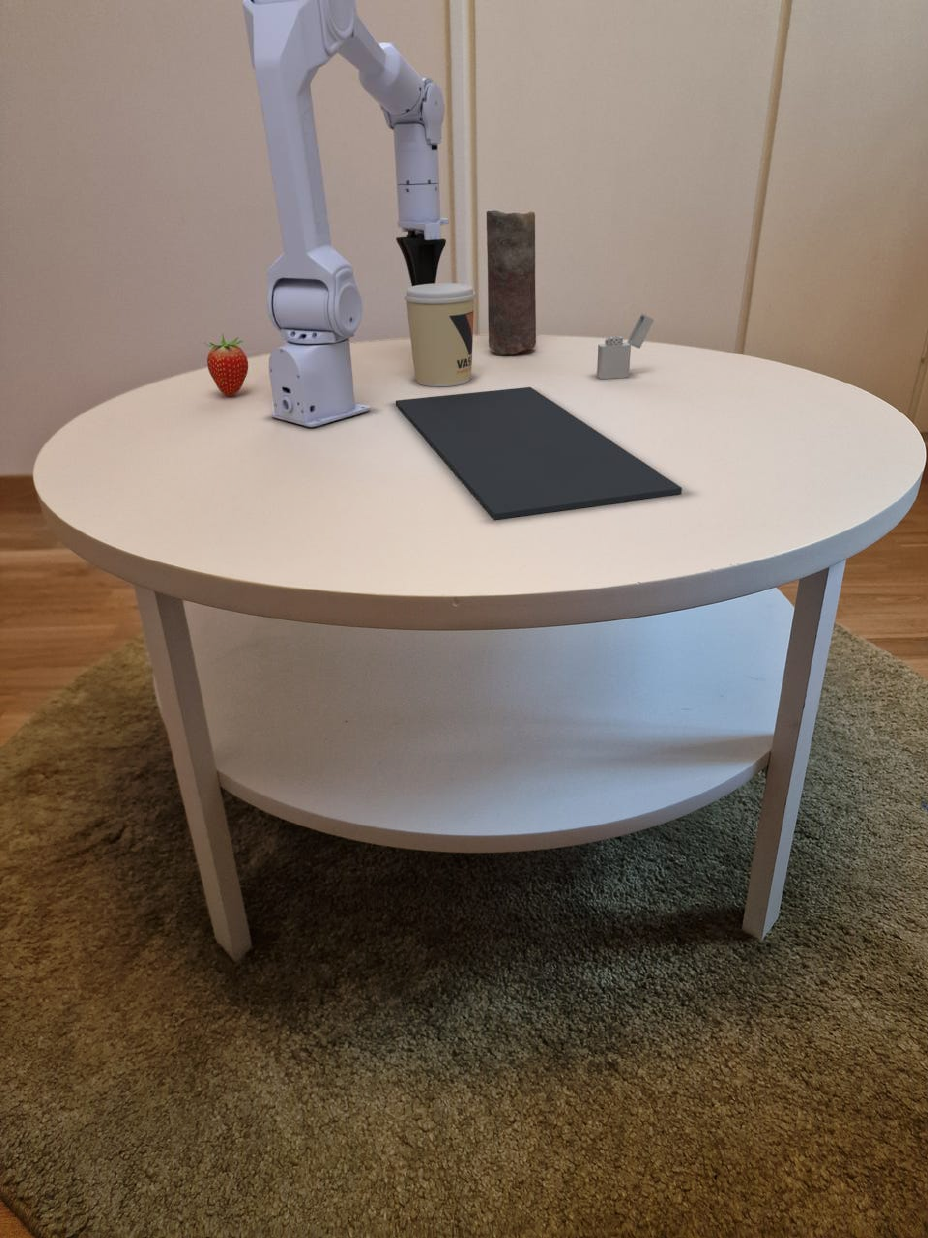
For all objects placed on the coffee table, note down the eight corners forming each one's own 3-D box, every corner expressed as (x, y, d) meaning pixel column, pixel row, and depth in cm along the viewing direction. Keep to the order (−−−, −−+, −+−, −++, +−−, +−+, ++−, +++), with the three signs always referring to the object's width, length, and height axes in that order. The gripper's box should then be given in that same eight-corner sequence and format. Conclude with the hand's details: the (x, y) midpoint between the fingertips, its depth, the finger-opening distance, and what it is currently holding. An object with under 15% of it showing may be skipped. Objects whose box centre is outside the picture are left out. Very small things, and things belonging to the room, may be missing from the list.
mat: (681, 493, 78) (682, 487, 77) (494, 520, 74) (494, 513, 73) (530, 391, 111) (530, 386, 111) (395, 405, 107) (395, 400, 107)
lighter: (600, 379, 116) (603, 317, 112) (596, 376, 117) (599, 315, 113) (650, 375, 117) (654, 314, 113) (645, 372, 118) (650, 312, 114)
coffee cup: (469, 388, 113) (467, 293, 107) (401, 387, 115) (396, 292, 109) (482, 372, 121) (480, 282, 115) (418, 371, 123) (414, 282, 117)
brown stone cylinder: (484, 347, 136) (482, 208, 126) (529, 344, 137) (530, 206, 127) (494, 357, 130) (492, 212, 120) (540, 354, 131) (543, 209, 121)
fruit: (219, 390, 116) (209, 329, 112) (256, 390, 116) (247, 329, 112) (207, 401, 111) (196, 338, 107) (246, 400, 111) (236, 337, 107)
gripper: (461, 184, 109) (464, 295, 116) (433, 181, 122) (437, 282, 128) (407, 186, 108) (413, 299, 114) (384, 183, 120) (391, 285, 126)
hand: (423, 290), depth 121 cm, fingers open, 3 cm apart
